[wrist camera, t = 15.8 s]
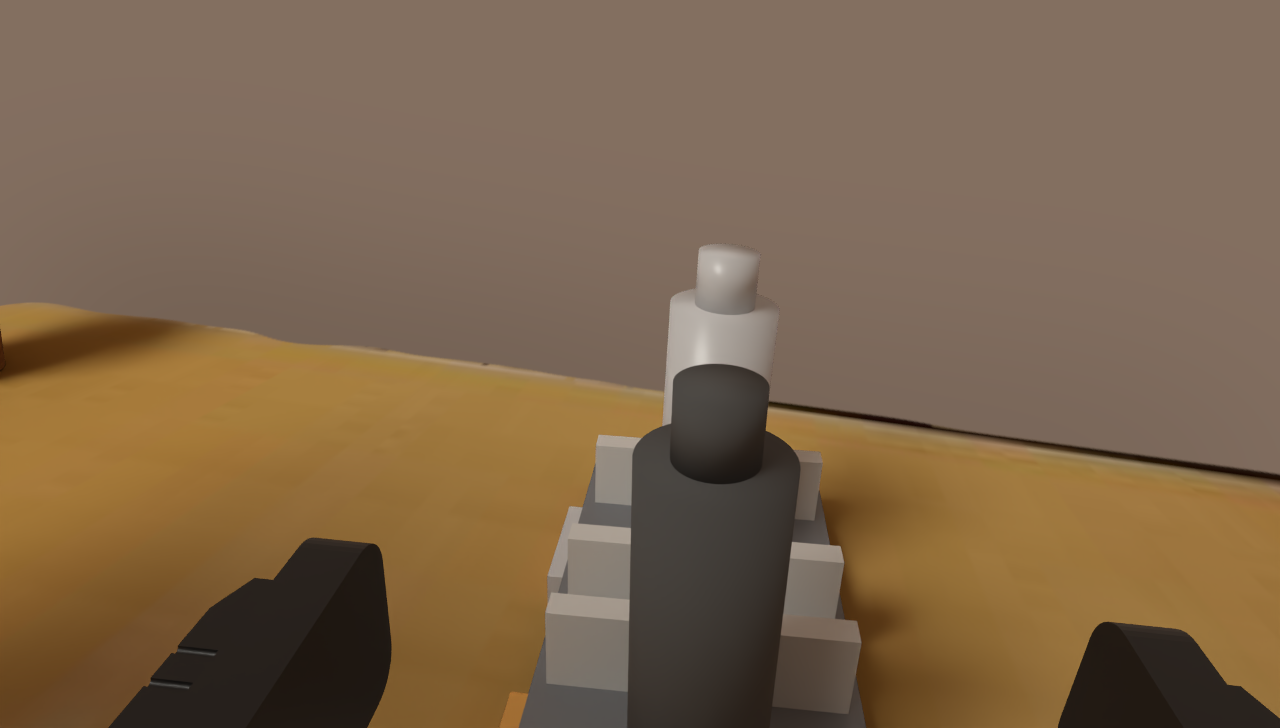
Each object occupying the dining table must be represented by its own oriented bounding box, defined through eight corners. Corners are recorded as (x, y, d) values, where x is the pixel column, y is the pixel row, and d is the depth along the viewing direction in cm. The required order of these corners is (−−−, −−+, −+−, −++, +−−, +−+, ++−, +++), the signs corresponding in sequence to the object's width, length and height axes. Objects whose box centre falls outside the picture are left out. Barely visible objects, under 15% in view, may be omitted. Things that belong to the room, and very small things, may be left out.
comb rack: (920, 1101, 18) (959, 980, 16) (419, 1032, 19) (402, 910, 17) (813, 506, 40) (824, 426, 38) (583, 487, 41) (584, 408, 39)
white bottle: (634, 549, 34) (650, 248, 28) (695, 512, 36) (719, 232, 31) (709, 595, 31) (741, 275, 26) (768, 552, 34) (808, 254, 29)
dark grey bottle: (597, 783, 23) (597, 384, 18) (683, 702, 26) (704, 336, 21) (706, 874, 21) (743, 446, 16) (788, 775, 24) (842, 382, 18)
